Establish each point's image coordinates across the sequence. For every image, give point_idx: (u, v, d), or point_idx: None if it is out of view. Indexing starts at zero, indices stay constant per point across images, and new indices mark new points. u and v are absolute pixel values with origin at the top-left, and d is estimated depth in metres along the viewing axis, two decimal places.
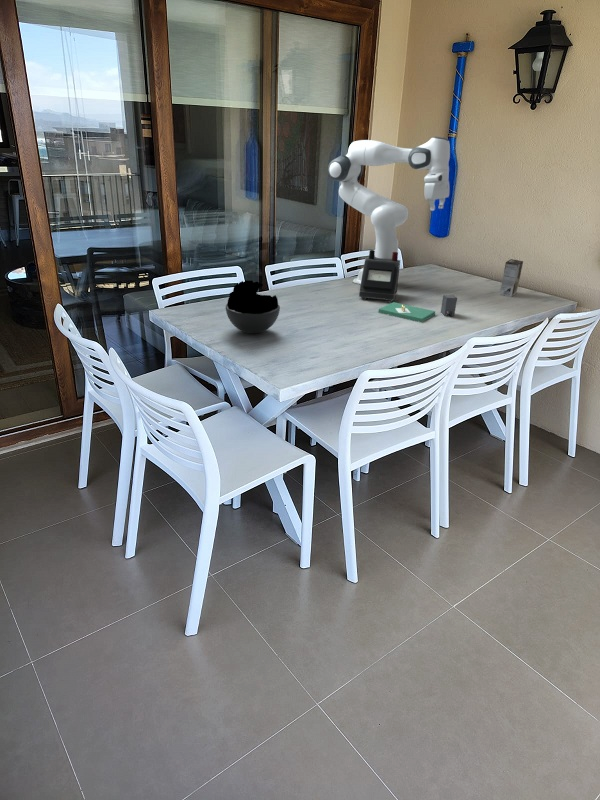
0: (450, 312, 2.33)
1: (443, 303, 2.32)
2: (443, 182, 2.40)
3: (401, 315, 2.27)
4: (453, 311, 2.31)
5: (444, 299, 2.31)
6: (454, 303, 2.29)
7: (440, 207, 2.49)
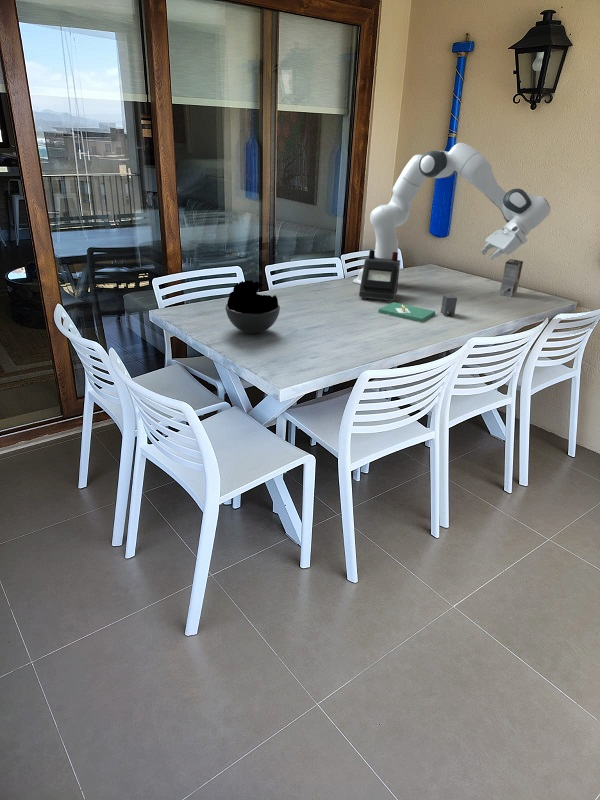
0: (450, 312, 2.33)
1: (443, 303, 2.32)
2: None
3: (401, 315, 2.27)
4: (453, 311, 2.31)
5: (444, 299, 2.31)
6: (454, 303, 2.29)
7: (483, 253, 2.27)
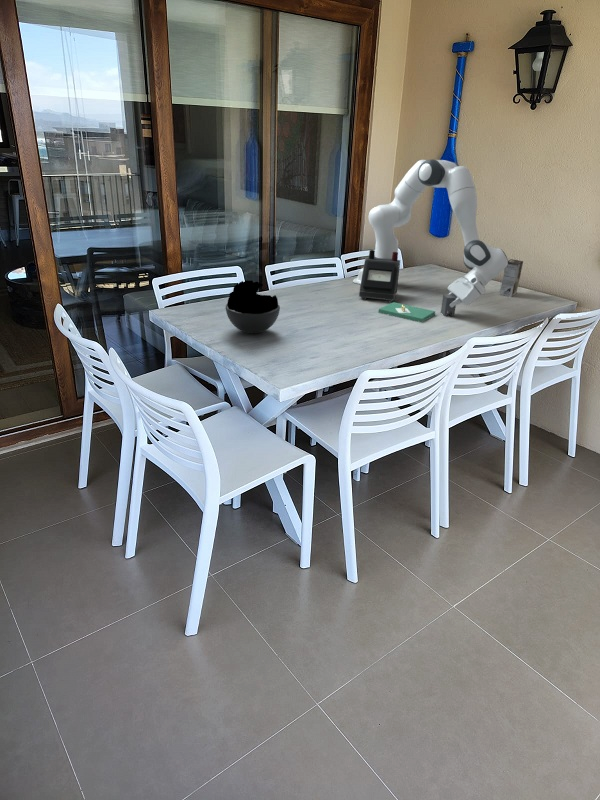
0: (450, 312, 2.33)
1: (443, 303, 2.32)
2: None
3: (401, 315, 2.27)
4: (453, 311, 2.31)
5: (444, 299, 2.31)
6: None
7: None
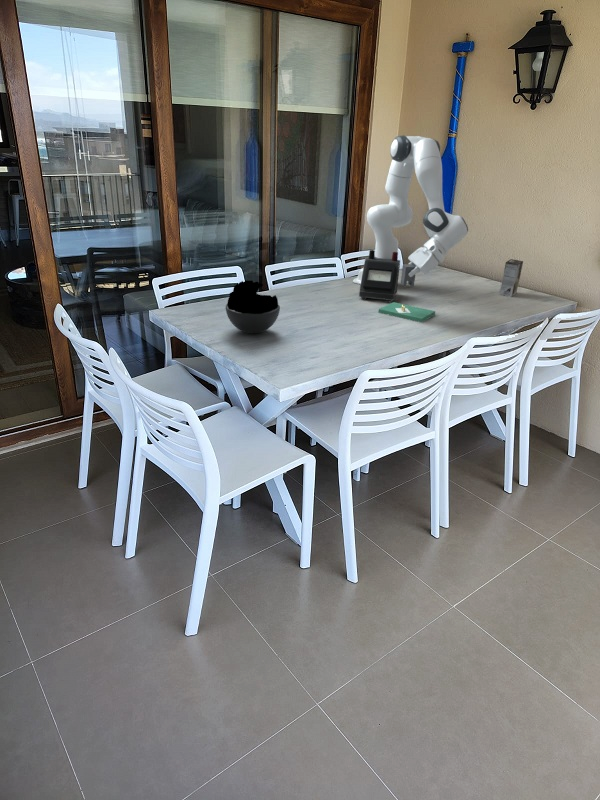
0: (410, 282, 2.25)
1: (402, 273, 2.25)
2: None
3: (401, 315, 2.27)
4: (412, 281, 2.23)
5: (403, 268, 2.23)
6: None
7: None
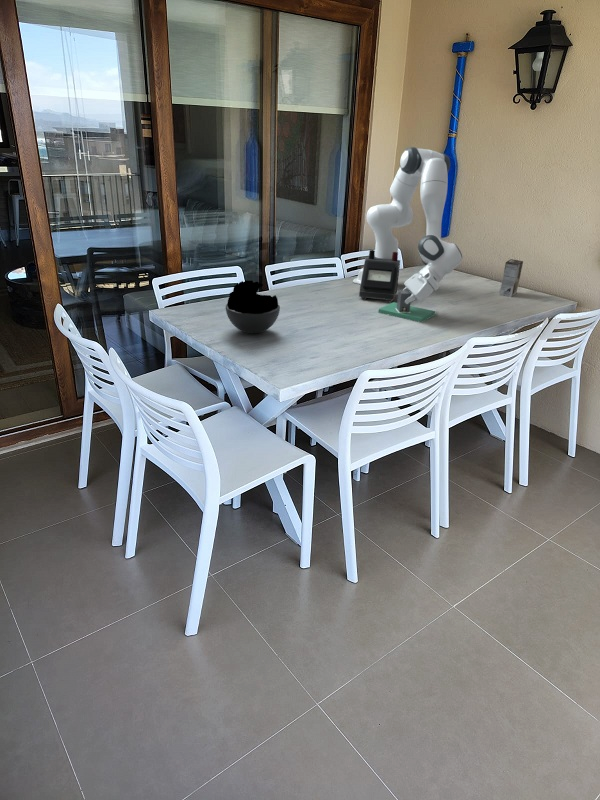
0: (405, 308, 2.30)
1: (398, 299, 2.29)
2: None
3: (401, 315, 2.27)
4: (408, 307, 2.28)
5: (399, 295, 2.28)
6: None
7: None
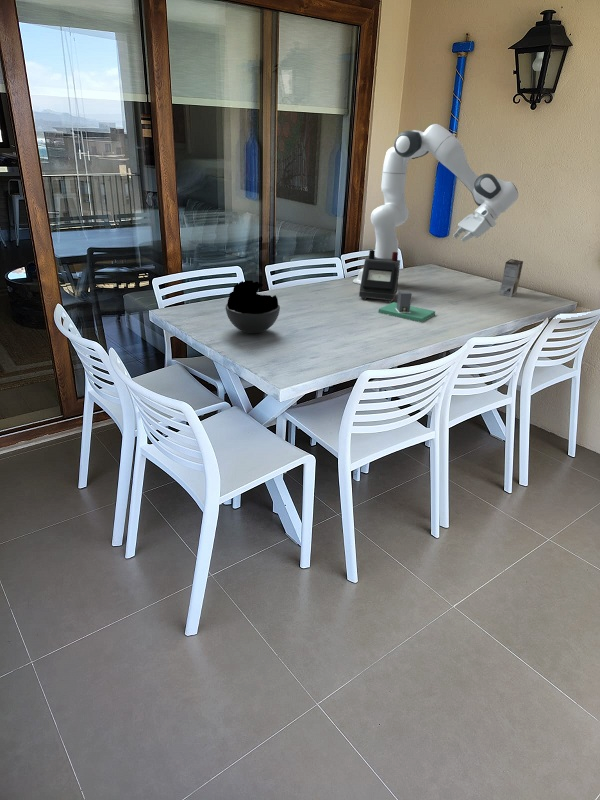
0: (405, 308, 2.30)
1: (398, 299, 2.29)
2: None
3: (401, 315, 2.27)
4: (408, 307, 2.28)
5: (399, 295, 2.28)
6: (409, 299, 2.26)
7: (456, 236, 2.37)
